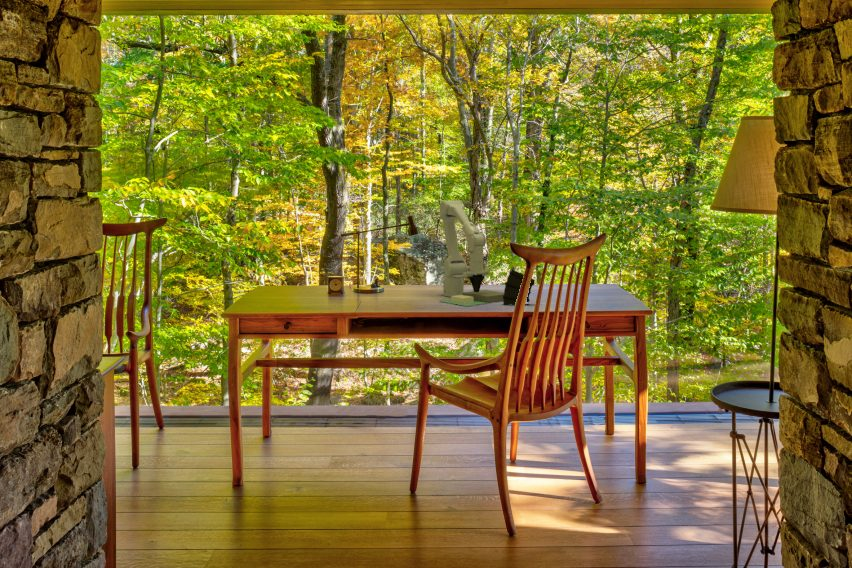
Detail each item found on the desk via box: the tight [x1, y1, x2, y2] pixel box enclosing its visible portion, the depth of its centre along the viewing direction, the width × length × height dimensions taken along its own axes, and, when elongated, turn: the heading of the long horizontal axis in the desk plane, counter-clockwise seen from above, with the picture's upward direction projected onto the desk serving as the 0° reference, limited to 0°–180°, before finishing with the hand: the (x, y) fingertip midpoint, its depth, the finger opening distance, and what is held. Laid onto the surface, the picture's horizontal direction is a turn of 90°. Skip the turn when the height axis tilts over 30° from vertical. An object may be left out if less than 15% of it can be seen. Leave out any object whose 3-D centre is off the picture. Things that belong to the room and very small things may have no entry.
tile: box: [450, 295, 474, 304], centre depth 343 cm, size 8×6×2 cm
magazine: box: [502, 268, 536, 306], centre depth 338 cm, size 4×13×15 cm, turn 84°
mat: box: [439, 298, 488, 308], centre depth 344 cm, size 18×12×1 cm, turn 40°
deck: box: [463, 289, 504, 304], centre depth 352 cm, size 16×14×3 cm
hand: (476, 292), depth 348 cm, fingers closed
